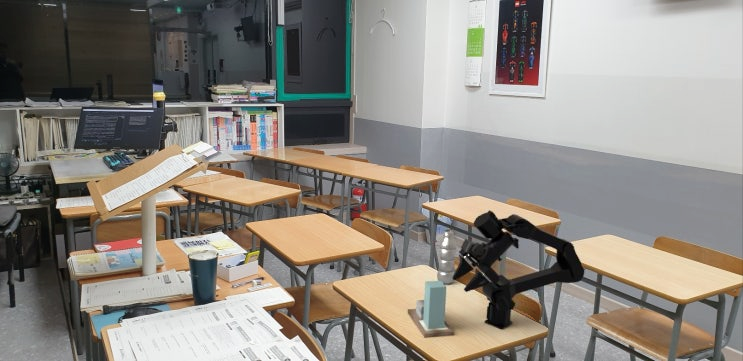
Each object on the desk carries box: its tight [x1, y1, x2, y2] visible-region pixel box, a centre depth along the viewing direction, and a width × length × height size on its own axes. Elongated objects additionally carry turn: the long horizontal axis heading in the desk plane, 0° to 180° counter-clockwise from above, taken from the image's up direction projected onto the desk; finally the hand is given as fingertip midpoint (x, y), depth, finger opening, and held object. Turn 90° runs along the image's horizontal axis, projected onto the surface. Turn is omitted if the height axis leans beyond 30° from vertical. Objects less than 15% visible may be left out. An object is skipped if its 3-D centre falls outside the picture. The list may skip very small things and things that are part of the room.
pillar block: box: [423, 280, 447, 329], centre depth 159 cm, size 5×5×13 cm
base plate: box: [407, 299, 454, 338], centre depth 163 cm, size 9×17×5 cm, turn 13°
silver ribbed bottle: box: [436, 229, 458, 285], centre depth 196 cm, size 6×7×20 cm
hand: (458, 285), depth 160 cm, fingers open, 9 cm apart
